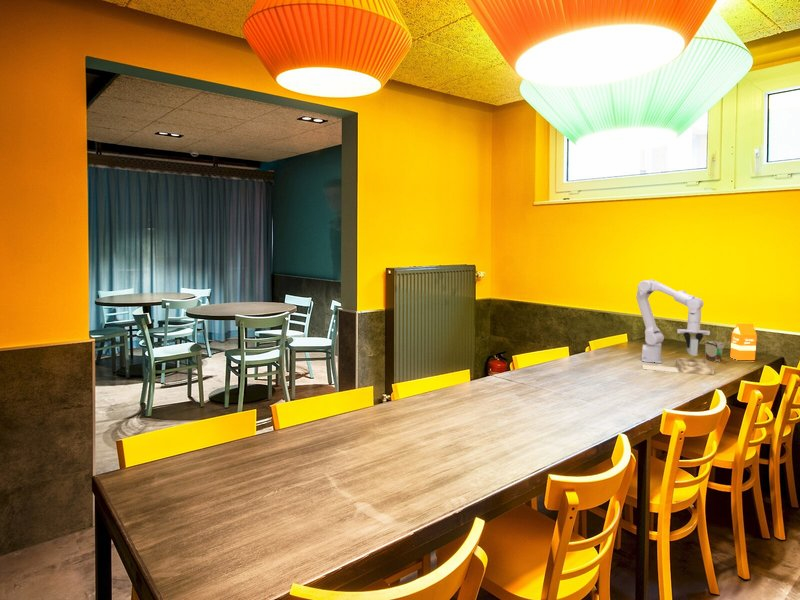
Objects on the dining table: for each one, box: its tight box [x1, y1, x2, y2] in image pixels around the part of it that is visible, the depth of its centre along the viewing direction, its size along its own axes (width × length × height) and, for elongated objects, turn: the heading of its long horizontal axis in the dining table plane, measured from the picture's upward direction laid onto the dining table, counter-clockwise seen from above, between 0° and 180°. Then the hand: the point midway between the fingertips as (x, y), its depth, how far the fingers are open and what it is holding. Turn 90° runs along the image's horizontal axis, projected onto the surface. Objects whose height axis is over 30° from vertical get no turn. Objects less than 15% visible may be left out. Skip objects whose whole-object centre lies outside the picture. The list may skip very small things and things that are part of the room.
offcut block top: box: [688, 362, 701, 368], centre depth 259 cm, size 5×4×2 cm
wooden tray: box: [675, 357, 715, 375], centre depth 266 cm, size 14×22×4 cm, turn 158°
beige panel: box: [641, 364, 680, 374], centre depth 265 cm, size 16×10×1 cm, turn 68°
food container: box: [704, 340, 725, 363], centre depth 285 cm, size 12×6×10 cm, turn 179°
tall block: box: [686, 336, 699, 357], centre depth 267 cm, size 3×9×8 cm, turn 162°
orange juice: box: [729, 323, 757, 361], centre depth 287 cm, size 8×9×20 cm
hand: (692, 347), depth 267 cm, fingers closed on tall block, 3 cm apart
